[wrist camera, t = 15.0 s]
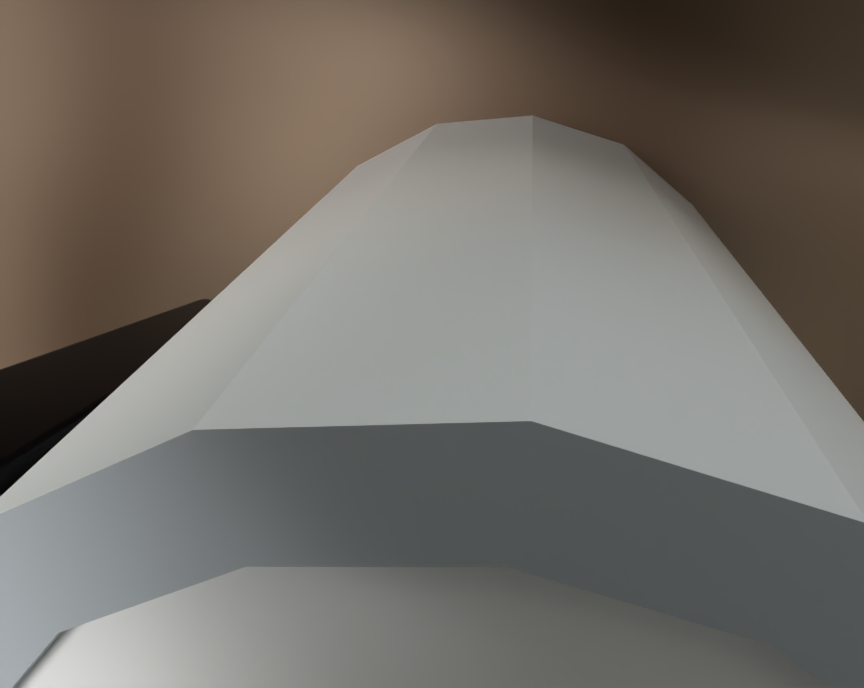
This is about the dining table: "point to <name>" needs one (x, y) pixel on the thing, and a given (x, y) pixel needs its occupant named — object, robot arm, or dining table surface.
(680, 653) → the shot glass
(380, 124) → the tray
